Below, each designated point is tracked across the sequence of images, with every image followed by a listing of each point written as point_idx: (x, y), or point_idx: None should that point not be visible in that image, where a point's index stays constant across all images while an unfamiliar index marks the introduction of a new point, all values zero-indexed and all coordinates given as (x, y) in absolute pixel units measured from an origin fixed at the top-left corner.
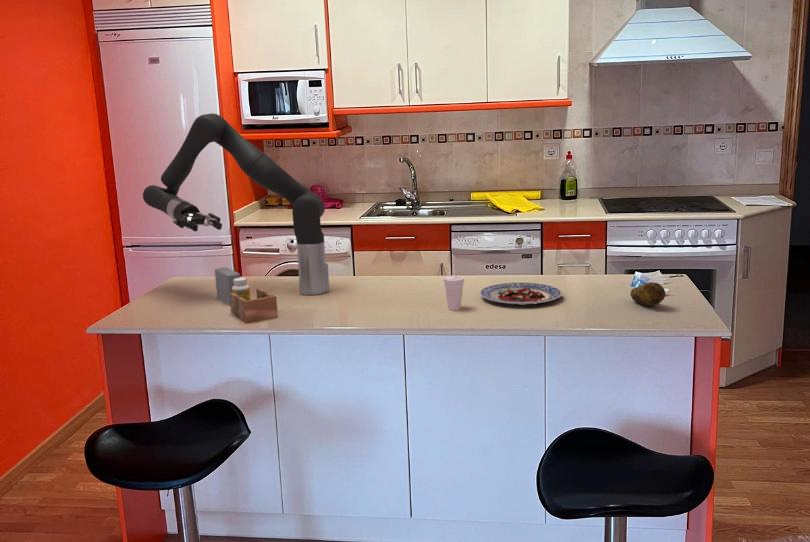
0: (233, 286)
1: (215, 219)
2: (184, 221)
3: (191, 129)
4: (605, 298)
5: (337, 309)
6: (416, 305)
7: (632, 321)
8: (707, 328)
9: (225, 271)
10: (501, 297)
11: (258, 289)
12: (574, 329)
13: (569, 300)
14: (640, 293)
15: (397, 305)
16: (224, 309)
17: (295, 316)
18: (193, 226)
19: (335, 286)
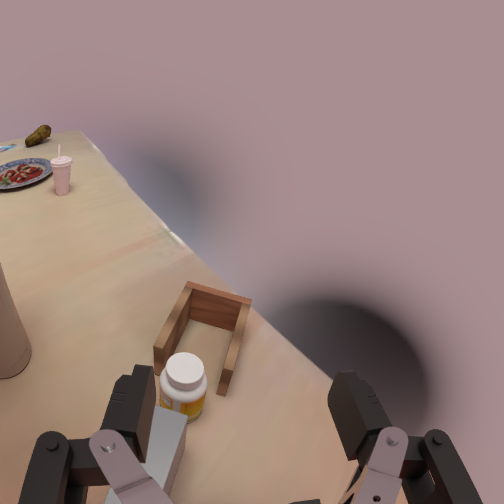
0: (201, 386)
1: (111, 434)
2: (416, 455)
3: None
4: (19, 154)
5: (100, 267)
6: (56, 215)
7: (73, 142)
8: (79, 131)
9: (148, 472)
10: (29, 177)
11: (165, 339)
12: (99, 150)
13: None
14: (44, 133)
15: (60, 226)
16: (215, 434)
17: (164, 293)
18: (362, 382)
19: None
